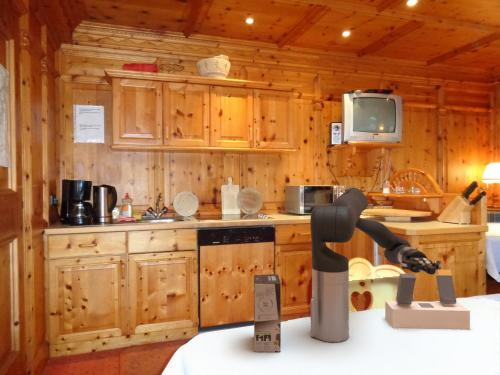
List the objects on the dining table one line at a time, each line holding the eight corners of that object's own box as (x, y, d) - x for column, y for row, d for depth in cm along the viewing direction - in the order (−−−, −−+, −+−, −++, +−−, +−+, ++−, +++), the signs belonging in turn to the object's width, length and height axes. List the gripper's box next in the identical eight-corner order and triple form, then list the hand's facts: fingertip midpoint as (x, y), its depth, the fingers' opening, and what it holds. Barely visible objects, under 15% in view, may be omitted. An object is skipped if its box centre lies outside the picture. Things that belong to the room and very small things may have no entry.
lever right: (443, 303, 101) (437, 269, 105) (440, 304, 103) (435, 270, 106) (456, 303, 101) (451, 269, 104) (453, 304, 103) (448, 270, 106)
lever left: (397, 305, 102) (401, 277, 99) (395, 300, 104) (399, 273, 101) (411, 305, 102) (415, 278, 99) (408, 300, 104) (413, 273, 100)
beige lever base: (392, 327, 100) (392, 308, 100) (385, 318, 107) (385, 300, 107) (469, 329, 98) (470, 310, 98) (457, 319, 105) (457, 301, 105)
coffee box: (281, 352, 86) (281, 283, 86) (253, 352, 86) (253, 283, 86) (279, 335, 95) (278, 273, 95) (254, 335, 96) (253, 273, 95)
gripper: (392, 248, 131) (409, 258, 113) (431, 248, 130) (454, 259, 112) (392, 269, 131) (409, 283, 113) (431, 269, 130) (454, 283, 112)
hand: (432, 271), depth 113 cm, fingers closed
